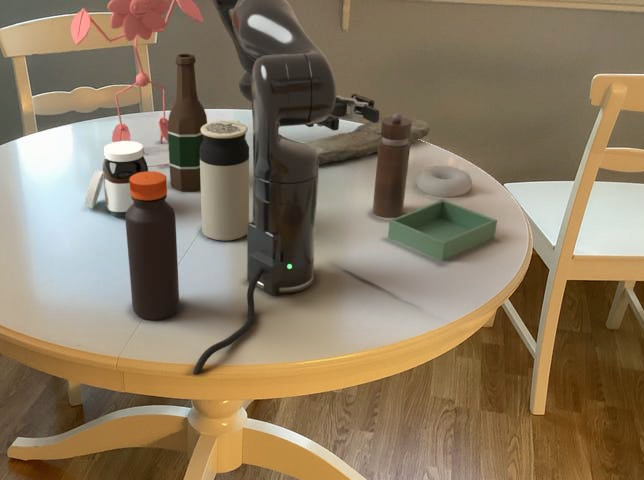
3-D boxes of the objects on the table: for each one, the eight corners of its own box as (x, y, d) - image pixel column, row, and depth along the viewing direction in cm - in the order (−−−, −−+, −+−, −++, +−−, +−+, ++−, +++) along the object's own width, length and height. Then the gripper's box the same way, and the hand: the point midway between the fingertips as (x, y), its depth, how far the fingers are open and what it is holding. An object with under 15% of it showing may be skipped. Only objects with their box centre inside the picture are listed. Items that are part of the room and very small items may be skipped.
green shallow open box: (441, 264, 132) (444, 243, 130) (387, 240, 140) (389, 220, 138) (493, 240, 139) (497, 220, 137) (439, 218, 146) (442, 199, 144)
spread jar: (156, 217, 149) (152, 154, 143) (93, 227, 146) (86, 162, 140) (139, 193, 159) (135, 132, 152) (80, 201, 156) (73, 140, 149)
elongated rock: (275, 164, 173) (303, 182, 166) (275, 140, 170) (304, 157, 163) (408, 125, 186) (439, 140, 179) (410, 101, 183) (442, 116, 176)
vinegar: (171, 323, 119) (164, 189, 108) (126, 317, 120) (114, 185, 109) (185, 300, 124) (179, 170, 113) (141, 295, 126) (132, 166, 115)
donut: (415, 200, 153) (472, 202, 152) (417, 182, 152) (474, 184, 150) (415, 179, 162) (469, 181, 160) (416, 162, 160) (471, 164, 158)
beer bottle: (216, 188, 160) (214, 57, 146) (177, 195, 157) (171, 63, 144) (201, 174, 166) (197, 48, 153) (164, 180, 164) (157, 52, 150)
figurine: (80, 153, 177) (60, -28, 158) (195, 136, 185) (189, -39, 166) (99, 178, 165) (80, -15, 146) (221, 158, 173) (218, -27, 154)
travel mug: (226, 246, 139) (225, 139, 129) (192, 232, 144) (188, 128, 134) (258, 230, 144) (259, 126, 134) (224, 218, 148) (222, 116, 138)
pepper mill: (388, 223, 145) (399, 119, 135) (365, 214, 148) (374, 112, 138) (408, 215, 148) (420, 113, 138) (386, 206, 151) (396, 106, 141)
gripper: (275, 83, 156) (324, 105, 144) (339, 72, 161) (392, 93, 149) (274, 123, 160) (322, 148, 148) (337, 111, 165) (388, 134, 153)
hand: (357, 120), depth 148 cm, fingers open, 8 cm apart
